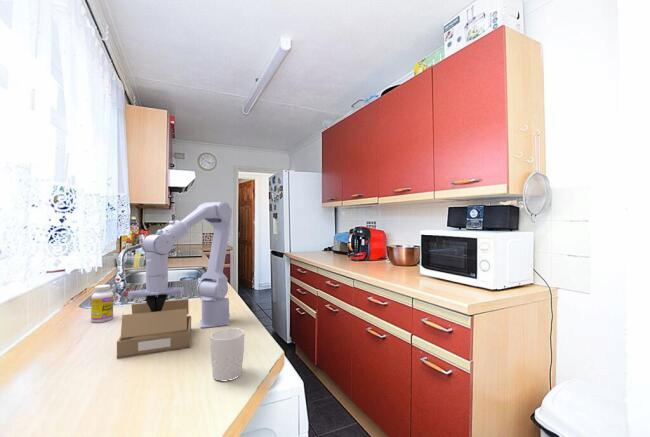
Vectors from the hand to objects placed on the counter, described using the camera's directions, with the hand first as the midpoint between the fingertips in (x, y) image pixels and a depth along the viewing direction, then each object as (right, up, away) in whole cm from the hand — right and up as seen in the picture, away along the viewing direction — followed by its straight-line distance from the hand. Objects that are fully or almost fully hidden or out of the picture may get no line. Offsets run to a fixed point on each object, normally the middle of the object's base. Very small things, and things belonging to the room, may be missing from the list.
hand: (157, 320), depth 90 cm
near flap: (+1, +1, -3) cm, 4 cm away
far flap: (-4, 0, +10) cm, 10 cm away
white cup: (+26, -8, -17) cm, 32 cm away
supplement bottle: (-33, -8, +23) cm, 41 cm away
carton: (-1, -8, +3) cm, 8 cm away
